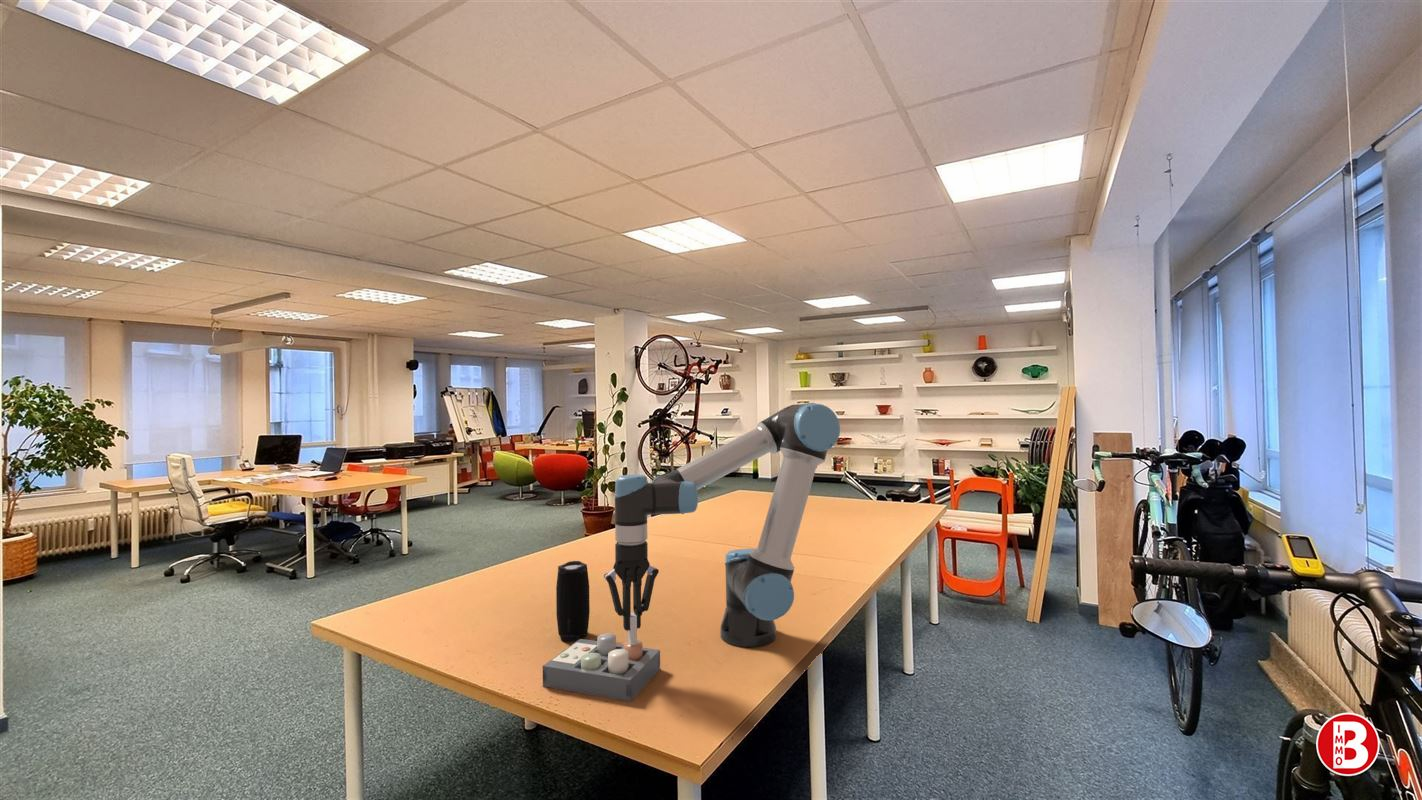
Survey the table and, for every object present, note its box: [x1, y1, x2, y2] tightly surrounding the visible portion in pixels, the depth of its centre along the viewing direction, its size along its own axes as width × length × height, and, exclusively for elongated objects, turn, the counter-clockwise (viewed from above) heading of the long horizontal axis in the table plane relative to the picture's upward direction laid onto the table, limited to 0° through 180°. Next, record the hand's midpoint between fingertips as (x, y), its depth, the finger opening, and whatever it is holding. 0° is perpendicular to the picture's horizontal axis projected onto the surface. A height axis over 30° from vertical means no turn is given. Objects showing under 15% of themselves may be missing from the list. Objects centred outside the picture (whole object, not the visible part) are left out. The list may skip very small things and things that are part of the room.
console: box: [542, 638, 661, 703], centre depth 123 cm, size 22×15×5 cm
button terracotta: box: [623, 639, 644, 661], centre depth 124 cm, size 4×4×4 cm
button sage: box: [581, 653, 601, 671], centre depth 120 cm, size 4×4×4 cm
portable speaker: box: [555, 560, 591, 643], centre depth 146 cm, size 9×9×20 cm
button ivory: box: [608, 649, 629, 675], centre depth 117 cm, size 4×4×4 cm
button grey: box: [596, 632, 617, 657], centre depth 126 cm, size 4×4×4 cm
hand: (632, 642), depth 124 cm, fingers closed
